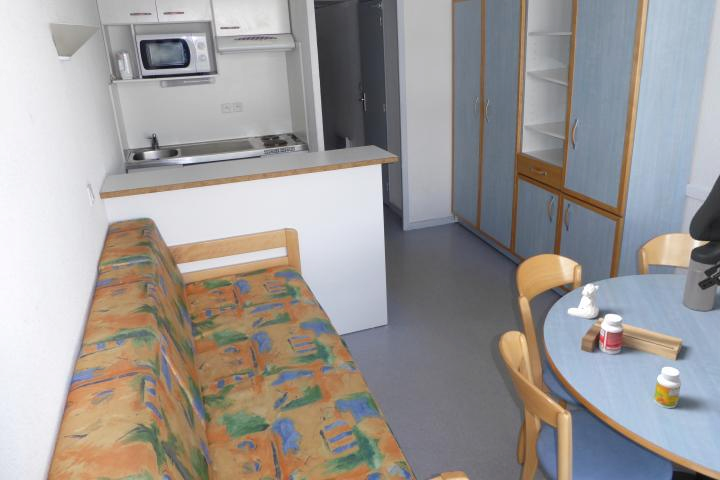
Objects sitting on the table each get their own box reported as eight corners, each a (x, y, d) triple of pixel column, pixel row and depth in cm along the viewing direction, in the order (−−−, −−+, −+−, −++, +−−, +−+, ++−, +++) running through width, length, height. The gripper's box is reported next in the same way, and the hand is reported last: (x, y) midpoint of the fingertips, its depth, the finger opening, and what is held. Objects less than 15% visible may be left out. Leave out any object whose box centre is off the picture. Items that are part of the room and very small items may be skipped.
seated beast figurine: (583, 305, 194) (586, 275, 190) (605, 315, 188) (609, 283, 183) (566, 314, 190) (568, 282, 185) (588, 324, 183) (591, 291, 178)
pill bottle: (624, 350, 167) (629, 318, 163) (612, 357, 164) (616, 324, 160) (606, 341, 172) (610, 310, 168) (594, 348, 169) (597, 316, 165)
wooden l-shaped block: (599, 325, 181) (600, 314, 180) (681, 347, 167) (683, 336, 165) (580, 349, 169) (582, 338, 167) (667, 376, 154) (669, 364, 153)
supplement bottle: (649, 396, 147) (654, 366, 143) (668, 394, 147) (674, 364, 144) (661, 409, 142) (667, 378, 138) (681, 407, 142) (687, 376, 138)
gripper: (757, 228, 140) (698, 260, 151) (750, 246, 130) (687, 279, 141) (778, 251, 139) (717, 282, 150) (773, 271, 129) (708, 302, 140)
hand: (703, 280), depth 145 cm, fingers open, 8 cm apart
